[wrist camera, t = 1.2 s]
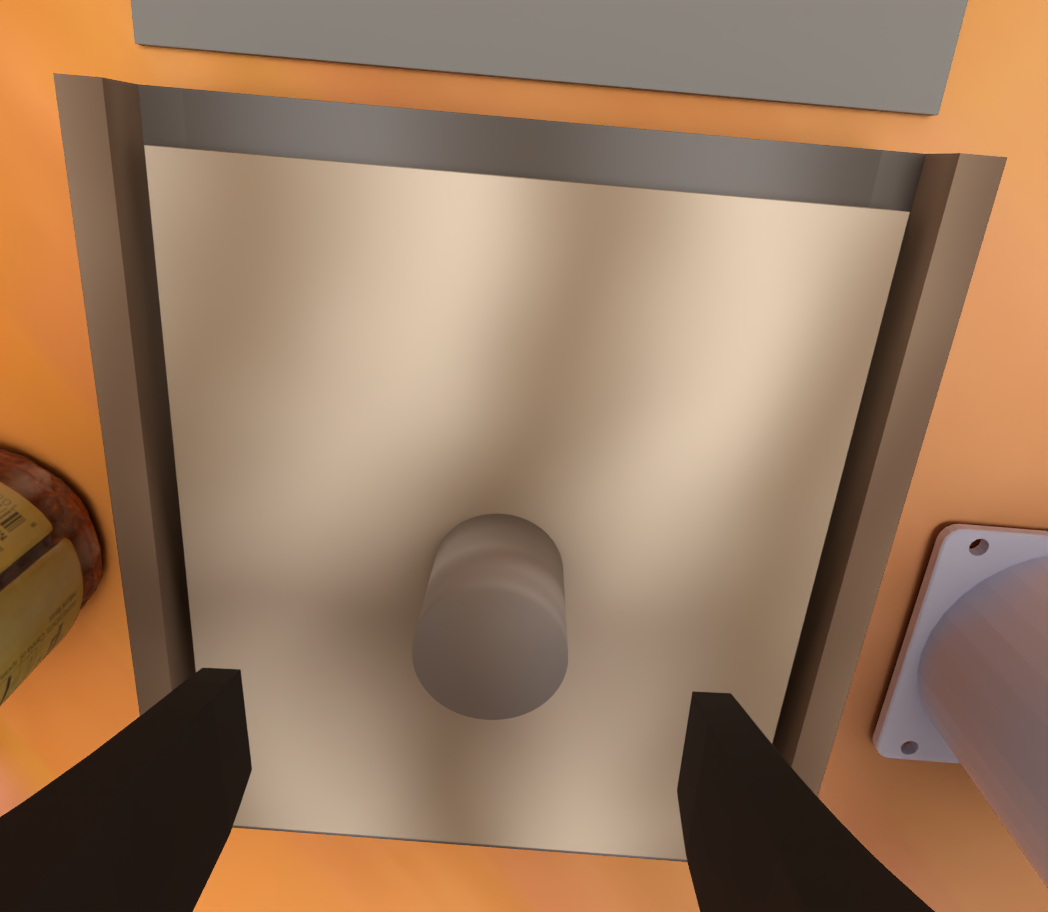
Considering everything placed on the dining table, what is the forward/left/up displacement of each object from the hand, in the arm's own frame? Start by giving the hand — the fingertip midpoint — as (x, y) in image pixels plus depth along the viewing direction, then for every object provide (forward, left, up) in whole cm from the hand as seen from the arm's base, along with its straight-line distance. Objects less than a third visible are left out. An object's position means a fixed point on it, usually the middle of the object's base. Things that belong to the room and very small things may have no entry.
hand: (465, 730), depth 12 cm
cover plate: (0, 0, -5) cm, 5 cm away
